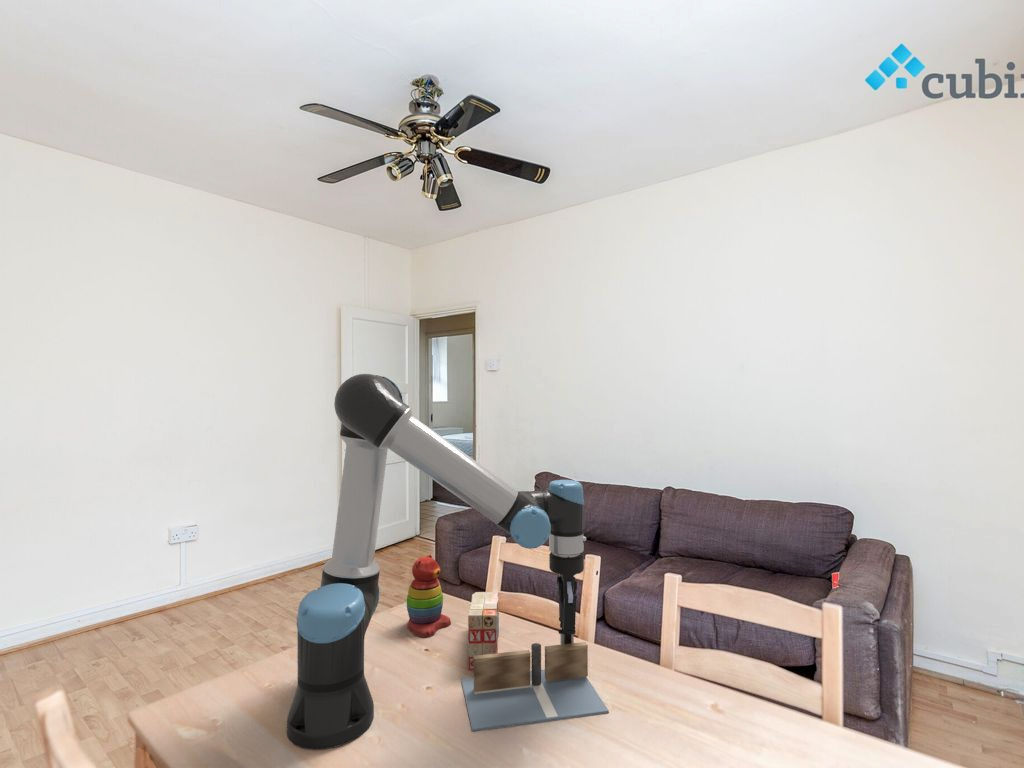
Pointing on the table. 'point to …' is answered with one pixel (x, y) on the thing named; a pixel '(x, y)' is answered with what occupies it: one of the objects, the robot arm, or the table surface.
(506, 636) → the table surface
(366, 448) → the robot arm
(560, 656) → the fence folding panel
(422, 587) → the stacking bear
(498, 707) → the board
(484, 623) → the stack of blocks
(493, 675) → the fence fixed panel
